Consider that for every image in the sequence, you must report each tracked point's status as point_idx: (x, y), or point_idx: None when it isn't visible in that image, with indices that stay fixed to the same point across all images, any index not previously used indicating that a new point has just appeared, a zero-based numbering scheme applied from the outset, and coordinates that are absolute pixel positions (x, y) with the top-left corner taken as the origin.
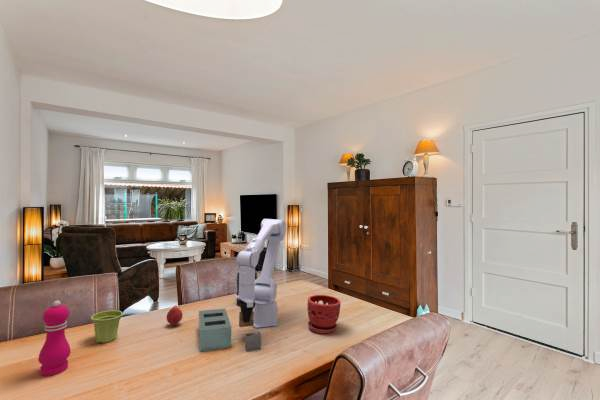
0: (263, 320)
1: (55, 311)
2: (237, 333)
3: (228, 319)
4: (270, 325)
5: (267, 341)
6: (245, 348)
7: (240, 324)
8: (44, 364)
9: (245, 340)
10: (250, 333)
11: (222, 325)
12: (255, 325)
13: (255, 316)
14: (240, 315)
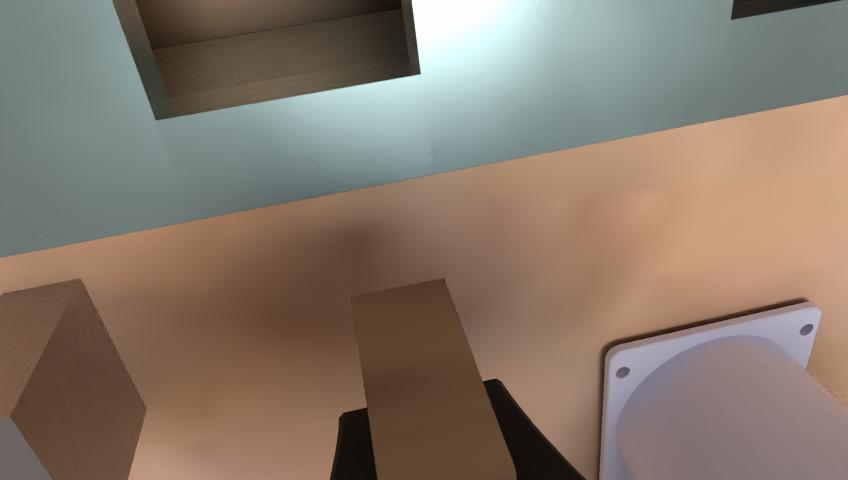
0: (644, 468)
1: None
2: (531, 168)
3: (449, 161)
4: (603, 472)
5: (266, 462)
6: (44, 292)
7: (358, 335)
8: None
9: (25, 352)
10: (36, 473)
11: (17, 33)
12: (651, 356)
13: (736, 421)
14: (377, 464)
